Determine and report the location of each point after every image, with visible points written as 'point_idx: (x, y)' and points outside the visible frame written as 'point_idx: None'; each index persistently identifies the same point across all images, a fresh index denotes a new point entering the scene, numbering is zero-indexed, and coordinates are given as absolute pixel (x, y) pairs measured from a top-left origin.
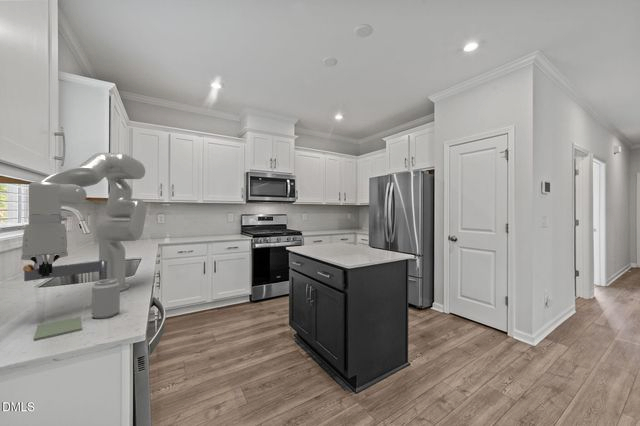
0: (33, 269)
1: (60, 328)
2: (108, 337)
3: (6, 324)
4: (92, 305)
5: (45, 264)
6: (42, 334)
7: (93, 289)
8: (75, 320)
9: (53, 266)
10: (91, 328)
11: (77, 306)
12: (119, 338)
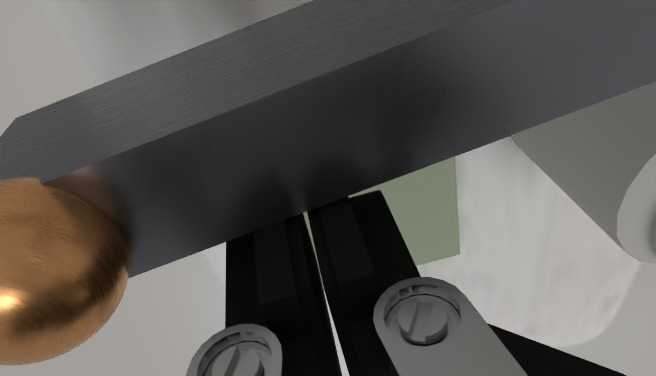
0: (133, 273)
1: None
2: (525, 331)
3: None
4: (538, 153)
5: (317, 304)
6: None
7: (612, 233)
8: None
9: (396, 93)
10: (486, 243)
11: None
12: (549, 345)
